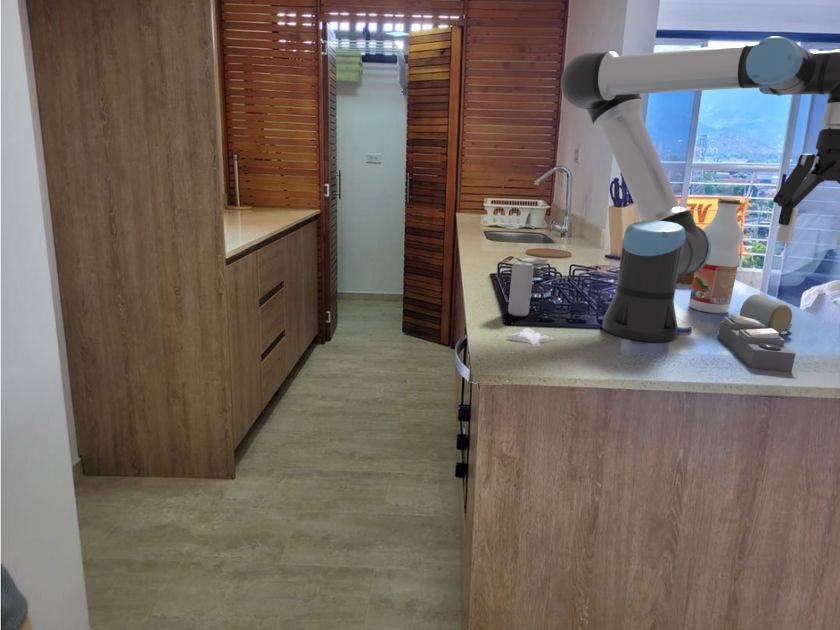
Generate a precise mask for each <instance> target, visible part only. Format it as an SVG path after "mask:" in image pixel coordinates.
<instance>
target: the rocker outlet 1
mask: <svg viewBox="0 0 840 630" xmlns="http://www.w3.org/2000/svg"><path fill="white" fill-rule="evenodd" d="M729 318H731V319H732V320H733V321H734V322H737V323H741V324H751V325H761V323H759V322H758V321H756V320H755V319H751V318H747V317H743V316H740V314H739V315H738V314H735V313H731V315H730V317H729Z"/></svg>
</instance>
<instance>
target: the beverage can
mask: <svg viewBox="0 0 840 630" xmlns="http://www.w3.org/2000/svg"><path fill="white" fill-rule="evenodd" d="M534 270H535V269H534V263H533V262H529V261H521V260H519V261H513V263H512V267H511V275H510V276H511V277H510V288H509V298H508V307H507V308H508V310H507V311H508V314H509V315H511V314H512V316H514V315H515V316H514V317H526V316H528V315H529V313H530V303H531V294H532V287H533V285H532V284H533V277H534Z"/></svg>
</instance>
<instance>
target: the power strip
mask: <svg viewBox="0 0 840 630" xmlns="http://www.w3.org/2000/svg"><path fill="white" fill-rule="evenodd" d="M723 319H724V320H720V324H719V329H718V333H717V337H718V338H719V339H720V340H721V341H722V342H723V343H724V344H725V345H726V346H728V348H730V349H731V351H733V353H735V355H737V357H739V358H740V359H741V360H742V362H744V363H745V364H746V365H747V366H748V367H749V368H753V369H762V370H770V371H771V370H772V371H781V372H790V373H791V372H792V371H793V367H794V362H795V359H796V358H795V357H796V352H795V351H793V350H791V349H790V348H788V347H787V346H786V345H785V343H786V342H785V341H786V339H784V338H783V337H781V336H780V335H779V338H763V337H753V336H749V335H747V334H746V333H745V330H750V329H765V328H766V326H765V325H763V324H762V323H761V322H759V321H758V320H756V321H758V322H759V323H761V325H751V324H741V323H737V322H734V321H733V320H732V319H731V318H730V317H728V316H727V317H726V316H725V317H724V318H723Z"/></svg>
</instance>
